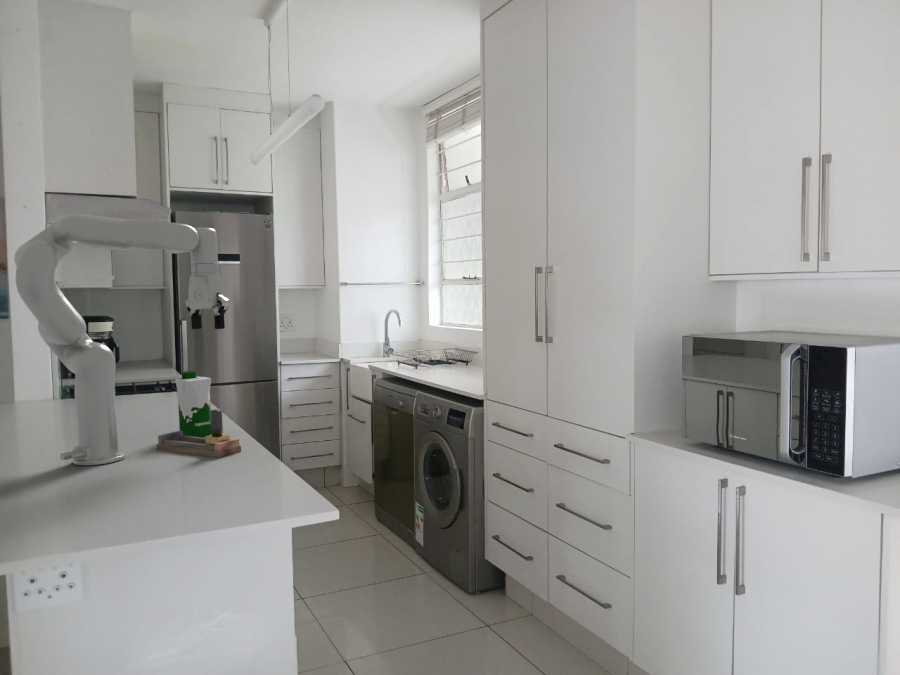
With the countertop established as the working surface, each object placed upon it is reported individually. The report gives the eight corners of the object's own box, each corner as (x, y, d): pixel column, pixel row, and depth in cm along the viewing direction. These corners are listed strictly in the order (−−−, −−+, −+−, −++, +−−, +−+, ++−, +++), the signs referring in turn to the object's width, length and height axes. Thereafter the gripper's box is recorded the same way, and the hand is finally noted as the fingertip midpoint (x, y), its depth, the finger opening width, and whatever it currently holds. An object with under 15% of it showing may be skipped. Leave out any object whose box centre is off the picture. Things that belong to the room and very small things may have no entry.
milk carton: (200, 432, 219) (197, 369, 218) (217, 435, 214) (214, 371, 212) (175, 437, 212) (171, 372, 211) (192, 440, 207) (188, 374, 206)
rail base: (218, 457, 184) (217, 443, 184) (156, 449, 197) (155, 435, 196) (241, 451, 191) (240, 437, 191) (180, 443, 204) (179, 430, 203)
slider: (218, 448, 187) (216, 411, 186) (205, 447, 189) (203, 410, 189) (230, 445, 190) (228, 409, 190) (217, 444, 193) (215, 408, 192)
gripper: (174, 271, 204) (177, 329, 205) (215, 269, 195) (218, 329, 197) (195, 271, 210) (198, 328, 212) (235, 269, 202) (238, 328, 203)
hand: (208, 328), depth 204 cm, fingers open, 9 cm apart
